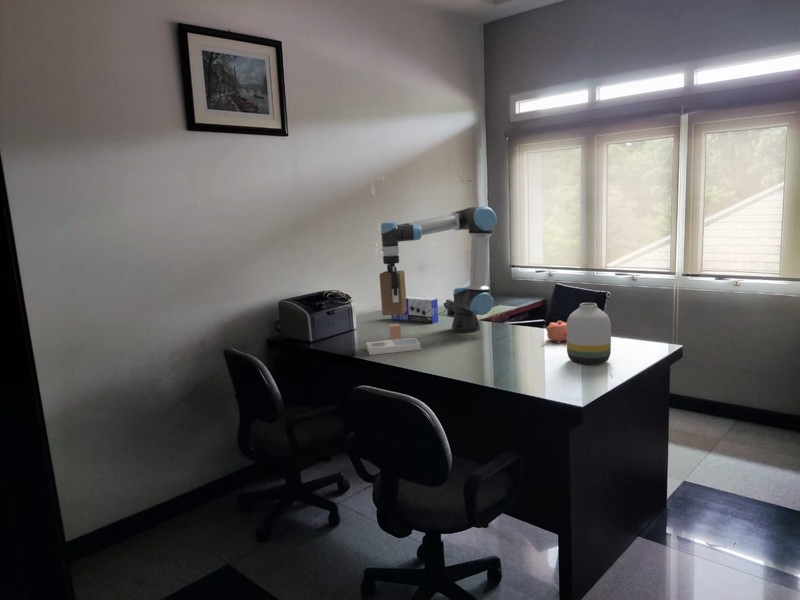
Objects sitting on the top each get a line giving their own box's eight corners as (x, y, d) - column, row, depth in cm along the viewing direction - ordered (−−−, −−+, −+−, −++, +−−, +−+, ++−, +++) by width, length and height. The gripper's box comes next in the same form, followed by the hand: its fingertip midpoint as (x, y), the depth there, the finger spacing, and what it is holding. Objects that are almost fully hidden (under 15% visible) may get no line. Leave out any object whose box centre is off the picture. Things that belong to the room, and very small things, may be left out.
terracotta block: (399, 339, 287) (398, 323, 285) (401, 341, 282) (400, 325, 280) (389, 339, 286) (388, 324, 285) (391, 342, 281) (390, 326, 280)
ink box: (391, 320, 337) (389, 297, 334) (398, 318, 342) (396, 295, 340) (432, 324, 318) (430, 299, 316) (438, 322, 323) (437, 298, 321)
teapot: (571, 344, 255) (571, 324, 254) (545, 343, 261) (544, 323, 259) (575, 338, 266) (575, 319, 264) (550, 337, 271) (550, 318, 269)
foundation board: (415, 343, 275) (414, 337, 274) (420, 349, 262) (420, 343, 262) (366, 348, 271) (366, 342, 270) (369, 354, 258) (369, 348, 258)
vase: (588, 354, 238) (588, 299, 234) (620, 363, 223) (620, 304, 219) (558, 361, 231) (557, 304, 227) (588, 370, 216) (588, 309, 212)
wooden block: (402, 315, 262) (399, 273, 259) (382, 315, 264) (379, 273, 261) (407, 311, 272) (404, 270, 268) (387, 311, 274) (384, 271, 271)
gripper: (380, 253, 275) (383, 297, 278) (386, 257, 251) (389, 304, 255) (395, 252, 276) (398, 295, 279) (402, 256, 252) (405, 303, 256)
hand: (393, 300), depth 267 cm, fingers closed on wooden block, 12 cm apart
